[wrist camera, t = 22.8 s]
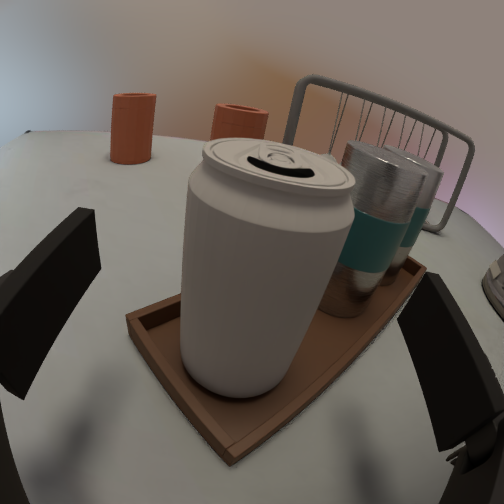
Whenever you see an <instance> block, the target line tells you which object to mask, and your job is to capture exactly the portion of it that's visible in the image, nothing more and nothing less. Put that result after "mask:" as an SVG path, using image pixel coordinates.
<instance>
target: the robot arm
mask: <svg viewBox="0 0 504 504" xmlns="http://www.w3.org/2000/svg"><path fill="white" fill-rule="evenodd" d="M489 267H490V268H489V269H488V271H487V272H486V274H485V276H484V277H483V280H482V283H483V288H484V290H485V293H486V295H487V297H488V299H489V300H490V302H491V303H492V305H493V306H494V308H495V309H496V311H497V312H498V313H499V314H500V316H501V317H502V318H503V319H504V254H503V255H502V256H501V257H500V258H499V259H498V260H497V261H496V260H495V261H494V262H493V263H492V264H491V265H490V266H489ZM100 270H101V262H100V256H99V248H98V240H97V232H96V222H95V211H94V210H93V209H87V208H81V207H78V208H77V209H76V210H75V211H73V212H72V213H71V214H70V215H69V216H68V217H67V218H66V219H64V220H63V221H62V222H61V223H60V224H59V225H58V226H57V227H56V228H55V229H54V230H53V231H52V232H50V233H49V234H48V235H47V236H46V237H45V238H44V239H43V240H42V241H41V242H40V243H39V244H38V245H37V246H36V247H35V248H34V249H33V250H32V251H31V252H30V253H29V254H28V255H27V256H26V258H25V259H24V260H23V261H22V262H21V263H20V264H19V265H18V266H17V267H16V268H15V269H14V270H10V271H8V272H7V273H5V274H4V275H2V276H1V277H0V383H1V384H2V385H3V387H4V388H5V389H6V390H7V391H8V392H10V393H12V394H13V395H15V396H17V397H18V398H20V399H22V400H24V399H25V397H26V394H27V392H28V390H29V388H30V386H31V384H32V382H33V380H34V378H35V376H36V374H37V372H38V370H39V369H40V367H41V365H42V363H43V361H44V359H45V357H46V356H47V354H48V352H49V350H50V348H51V347H52V345H53V343H54V341H55V340H56V338H57V336H58V335H59V333H60V331H61V330H62V328H63V326H64V325H65V323H66V321H67V320H68V318H69V316H70V315H71V313H72V312H73V310H74V308H75V307H76V305H77V304H78V302H79V301H80V299H81V298H82V296H83V295H84V293H85V292H86V290H87V289H88V287H89V286H90V284H91V283H92V281H93V280H94V278H95V277H96V275H97V274H98V273H99V271H100ZM397 321H398V323H399V326H400V328H401V331H402V334H403V336H404V339H405V342H406V344H407V347H408V350H409V353H410V355H411V358H412V361H413V364H414V367H415V370H416V373H417V376H418V379H419V382H420V385H421V388H422V391H423V395H424V398H425V401H426V405H427V408H428V412H429V415H430V419H431V423H432V427H433V430H434V434H435V438H436V443H437V447H438V451H439V452H442V451H445V450H449V449H452V448H454V447H456V446H457V445H459V444H460V443H462V442H463V441H465V443H466V445H465V446H463V447H462V448H460V449H458V450H457V451H455V452H454V453H452V454H450V455H449V456H448V457H447V459H446V461H447V462H448V461H449V460H451V459H453V458H455V457H456V456H458V457H457V458H456V459H454V460H452V461H451V462H450V463H451V464H452V465H454V468H453V471H452V474H451V476H450V479H449V481H448V484H447V486H446V489H445V491H444V493H443V495H442V498H441V500H440V502H439V504H504V394H503V391H502V389H501V387H500V384H499V382H498V380H497V378H495V376H496V375H495V373H494V371H493V369H491V367H492V366H491V364H490V362H489V360H488V358H487V356H486V355H485V353H484V352H483V350H482V348H481V346H480V344H479V342H478V340H477V338H476V337H475V335H474V333H473V331H472V329H471V327H470V325H469V324H468V322H467V320H466V318H465V316H464V315H463V313H462V311H461V310H460V308H459V306H458V304H457V303H456V301H455V299H454V298H453V296H452V294H451V293H450V291H449V290H448V288H447V286H446V285H445V283H444V282H443V280H442V279H441V277H440V276H439V274H435V273H430V272H425V274H424V276H423V277H422V279H421V281H420V283H419V284H418V286H417V288H416V289H415V291H414V293H413V294H412V296H411V298H410V299H409V301H408V303H407V304H406V306H405V307H404V309H403V310H402V312H401V314H400V315H399V317H398V318H397ZM0 504H30V503H29V500H28V498H27V496H26V493H25V491H24V488H23V485H22V483H21V480H20V477H19V474H18V471H17V468H16V465H15V462H14V458H13V455H12V452H11V448H10V444H9V440H8V436H7V432H6V428H5V423H4V418H3V413H2V408H1V402H0Z"/></svg>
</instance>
